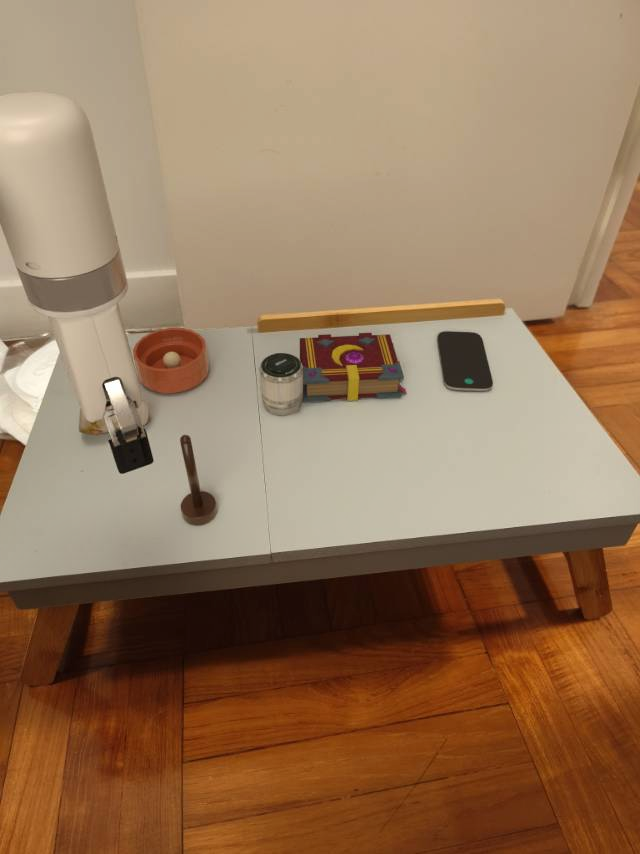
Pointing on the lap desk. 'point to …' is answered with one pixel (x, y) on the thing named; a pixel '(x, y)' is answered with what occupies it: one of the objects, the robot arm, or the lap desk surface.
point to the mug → (101, 427)
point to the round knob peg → (195, 491)
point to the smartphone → (464, 361)
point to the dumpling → (172, 360)
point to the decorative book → (350, 367)
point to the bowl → (172, 379)
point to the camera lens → (281, 383)
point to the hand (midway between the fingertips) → (122, 433)
